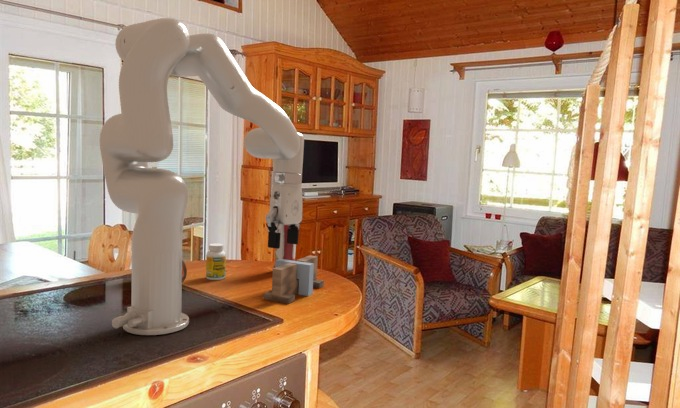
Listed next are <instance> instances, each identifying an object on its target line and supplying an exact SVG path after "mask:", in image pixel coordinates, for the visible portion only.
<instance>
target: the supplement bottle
mask: <svg viewBox="0 0 680 408" xmlns="http://www.w3.org/2000/svg"><path fill="white" fill-rule="evenodd" d="M224 247H225V246H224V244H223V243H218V242H217V243H209V244H208V250H209V251H207V252H206V258H205V260H206V262H205V269H206V270H205V278H206V280H210V281H221V280H224V279H226V267H227V266H226V263H227V261H226V260H227V258H226V257H227V255H226V252H225V251H224Z"/></svg>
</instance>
